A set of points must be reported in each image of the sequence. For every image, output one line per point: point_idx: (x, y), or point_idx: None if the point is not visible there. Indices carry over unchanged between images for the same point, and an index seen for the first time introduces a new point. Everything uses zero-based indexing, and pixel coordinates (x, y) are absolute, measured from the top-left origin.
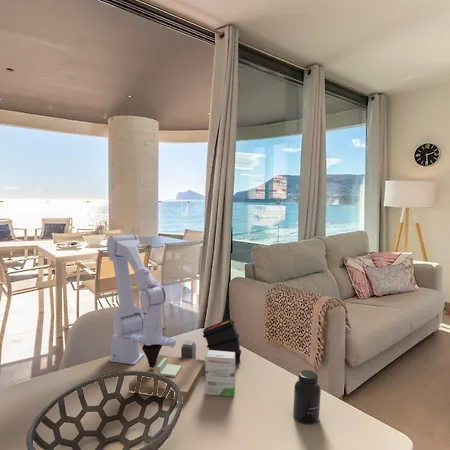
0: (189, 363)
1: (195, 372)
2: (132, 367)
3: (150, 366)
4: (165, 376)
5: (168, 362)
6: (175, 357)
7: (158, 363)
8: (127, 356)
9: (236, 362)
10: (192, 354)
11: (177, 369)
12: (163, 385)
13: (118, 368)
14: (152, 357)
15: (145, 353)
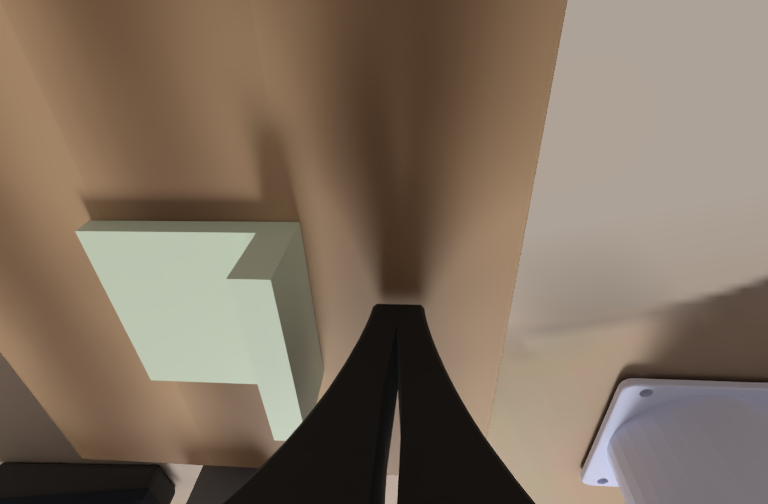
0: (151, 419)
1: (4, 327)
2: (629, 347)
3: (408, 309)
4: (194, 212)
5: None
6: None
7: None
8: (721, 437)
9: (8, 468)
10: (190, 500)
11: (139, 326)
12: (67, 7)
13: (758, 318)
14: (356, 402)
15: (484, 460)
